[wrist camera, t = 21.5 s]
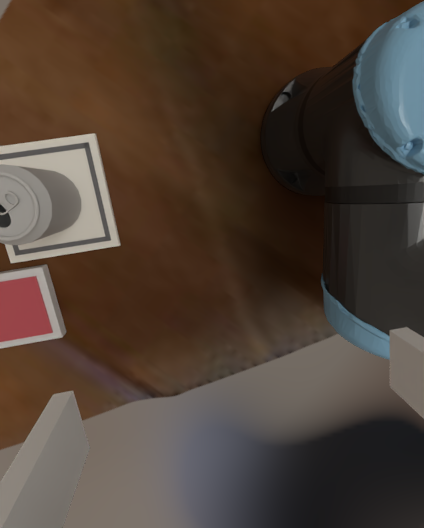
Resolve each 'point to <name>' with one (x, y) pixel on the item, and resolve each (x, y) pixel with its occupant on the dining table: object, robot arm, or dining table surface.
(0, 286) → the ink pad
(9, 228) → the can
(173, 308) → the dining table surface
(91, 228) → the marked board
